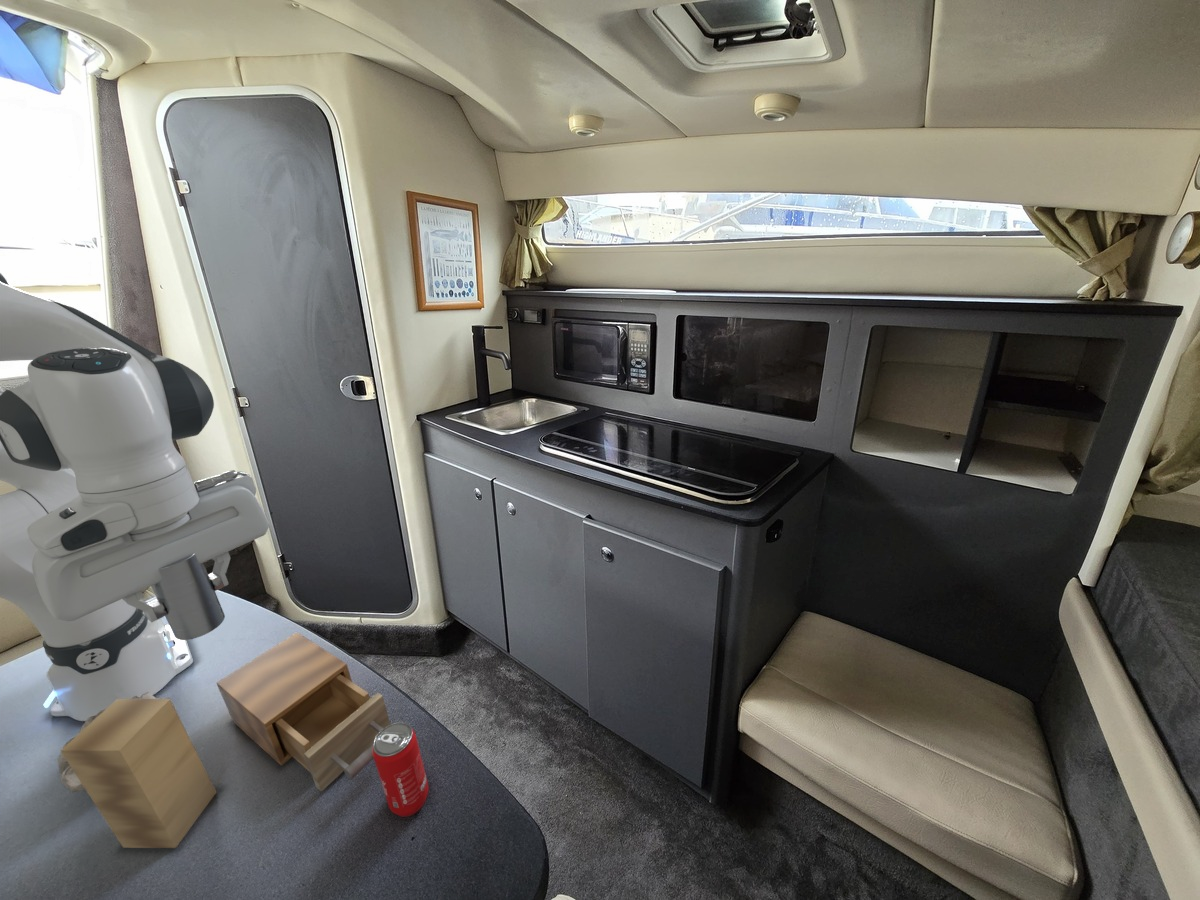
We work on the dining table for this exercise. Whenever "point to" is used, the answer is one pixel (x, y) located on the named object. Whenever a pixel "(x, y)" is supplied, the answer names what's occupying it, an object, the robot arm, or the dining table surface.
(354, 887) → the dining table surface
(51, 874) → the dining table surface
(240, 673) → the cabinet
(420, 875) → the dining table surface
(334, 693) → the drawer
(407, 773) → the beverage can
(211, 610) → the tin
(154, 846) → the wooden block
